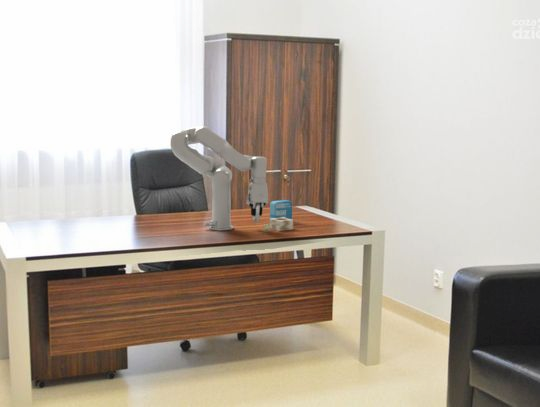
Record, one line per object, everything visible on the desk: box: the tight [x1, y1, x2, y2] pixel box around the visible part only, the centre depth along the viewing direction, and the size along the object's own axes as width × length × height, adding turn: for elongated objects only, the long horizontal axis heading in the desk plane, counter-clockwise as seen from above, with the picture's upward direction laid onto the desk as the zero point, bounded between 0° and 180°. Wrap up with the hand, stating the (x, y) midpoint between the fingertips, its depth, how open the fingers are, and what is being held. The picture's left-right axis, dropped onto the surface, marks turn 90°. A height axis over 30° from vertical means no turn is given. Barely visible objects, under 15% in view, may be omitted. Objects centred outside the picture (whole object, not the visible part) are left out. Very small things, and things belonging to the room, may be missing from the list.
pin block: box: [269, 217, 294, 232], centre depth 378 cm, size 9×9×5 cm
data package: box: [269, 199, 293, 220], centre depth 395 cm, size 12×4×12 cm, turn 126°
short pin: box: [262, 223, 271, 234], centre depth 369 cm, size 3×3×4 cm
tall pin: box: [252, 203, 261, 223], centre depth 374 cm, size 3×3×10 cm
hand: (256, 215), depth 375 cm, fingers closed on tall pin, 3 cm apart
